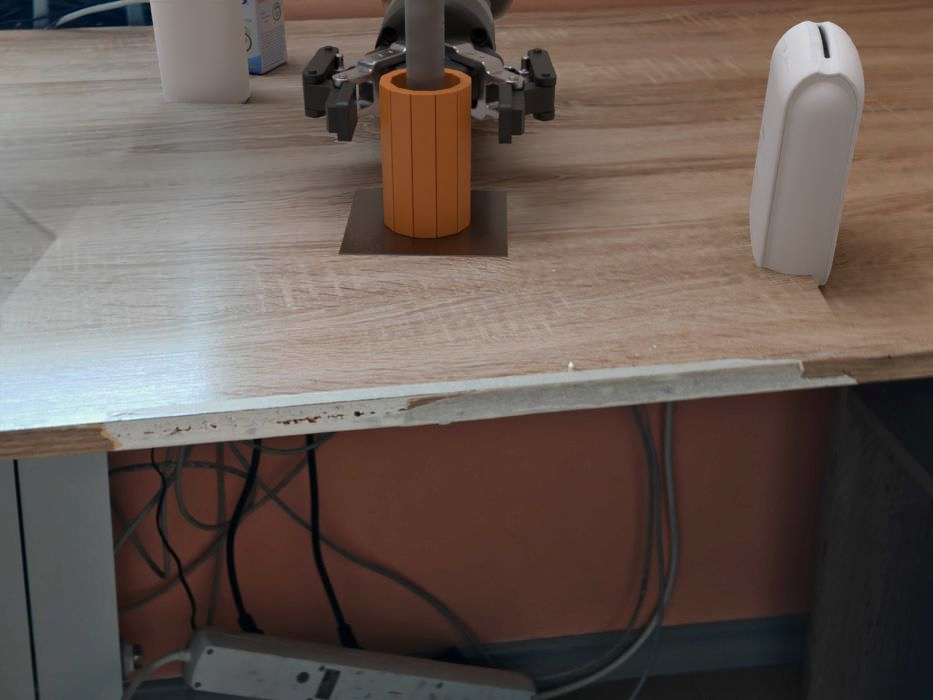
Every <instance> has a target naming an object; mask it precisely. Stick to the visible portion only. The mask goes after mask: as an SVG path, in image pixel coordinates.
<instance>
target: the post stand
mask: <svg viewBox="0 0 933 700" xmlns="http://www.w3.org/2000/svg"><path fill="white" fill-rule="evenodd" d="M405 37H406V79H407V90H412V91H437V90H443V89H445V58H444V0H405ZM507 196H508V194H507V190H500V189H499V190H496V189H495V190H493V189H489V190H487V189H485V190H483V189H471V199H470V224H469V226H468V227H466V228H465V229H463V230H462V231H460V232H459V233H456V234H452V235H448V236H443V237H439V238H438V237H436V238H415V237H409V236H406V235H402V234H398V233H395V232H393V231H392V230H391V229H390V228H389V227H387V226H386V225H385V223H384V205H383V188H356V190H355V193H354V198H353V200H352V205H351V208H350V211H349V214H348V219H347V222H346V225H345V229H344V233H343V236H342V239H341V242H340V247H339V251H338V256H397V257H402V256H403V257H406V256H407V257H462V258H463V257H467V258H468V257H469V258H509V234H508V197H507Z"/></svg>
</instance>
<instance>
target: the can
mask: <svg viewBox="0 0 933 700" xmlns="http://www.w3.org/2000/svg"><path fill="white" fill-rule="evenodd" d="M149 4H150V5H149V6H150V12H151V19H152V27H153V34H154V40H155V47H156V54H157V61H158V62H157V63H158V68H159V74H160V81H161V89H162V94H163V99H164V102H165V103H166V104H204V105H205V104H206V105H207V104H211V105H212V104H214V105H223V104H224V105H245V103H247V101H248V99H249V98H250V96H251V85H250V84H251V83H250V72H249V71H248V61H247V50H246V40H245V30H244V20H243V10H242V0H149Z"/></svg>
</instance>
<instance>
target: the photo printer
mask: <svg viewBox="0 0 933 700" xmlns="http://www.w3.org/2000/svg"><path fill="white" fill-rule="evenodd" d="M769 65H770V66H769V72H768V80H767V84H766V85H767V86H766V92H765V98H764V105H763V109H762V110H763V111H762V118H761V123H760V131H759V137H758V145H757V151H756V156H755V157H756V158H755V164H754V171H753V177H752V178H753V179H752V186H751V192H750V199H749V209H748V210H749V211H748V216H749V217H748V219H749V221H748V223H749V237H750V244H751V251H752V257H753V259H754V262H755V264H756V265H757V267H758V268H760V269H768V270H771V271H773V272H778V273H780V274H783V275H784V274H785V275H789V276H811V277H812V280H813V281H814V283H815V284H816V286H817V287H819V286H825V285H826V284H827V282H828V280H829V277H830V274H831V270H832V266H833V262H834V256H835V251H836V247H837V241H838V237H839V232H840V231H839V230H840V225H841V220H842V215H843V209H844V205H845V200H846V194H847V188H848V184H849V179H850V175H851V168H852V163H853V158H854V152H855V147H856V143H857V139H858V133H859V129H860V123H861V119H862V114H863V111H864V104H865V97H866V94H865V93H866V90H865V88H866V87H865V86H866V85H865V77H864V71H863V65H862V62H861V58H860V54H859V51H858V49H857V46H856V45H855V44H854V42H853V40H852V39H851V37H850V36H849V35H848V33H847V32H846V31H845V30H844V29H843V28H841V26H839V25H837V24H835V23H834V22H831V21H823V22H813V21H811V20H804V21H802V22H800V23H798V24H796V25H794V26H792V27H791V28H789V29H788V30H787V31H786V32H785V33H784V34H783V35H782V36H781V37H780V39H779V40H778V42H777V43H776V45H775V47H774V49H773V52H772V55H771V59H770V64H769Z"/></svg>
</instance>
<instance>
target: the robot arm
mask: <svg viewBox="0 0 933 700" xmlns="http://www.w3.org/2000/svg"><path fill="white" fill-rule="evenodd" d="M381 3H382V7H383V10H384V12H385V14H384V18H383V21H382V23H381V26H380V28H379V32H378V35H377V39H376V40H375V41H376V42H375V45H374V49H373V50H370V51H368V52H367V53H365V54H364V56H361V57H360V58H359V59H357V60H356V59H353V60H352V59H344V54H343V53H340V49H339V47H337V46H333V45H325V46H322V47H320V48H318V49H317V51H316V52H315V53H314V55H313V56H312V57H311V59H310V60H309V61H308V63H307V65H306V66H305V67H304V69H303V71H301V80H302V81H301V82H302V95H303V96H302V97H303V107H304V109H303V110H304V116H305V117H306V118H312V119H319V118H322V117H324V116H325V123H326V126H325V127H326V131H327V132H328V133H329V134H336V137H337V139H336V140H337V142H348V143H349V142H352V141H353V137H354V135H355V132H356V128H357V125H358V122H359V119H362V118H364V117H369V118H372V119H375V120H380V96H379V82H380V79H381V77H382V76H383V75H385V74H387V73H390V72H392V71H394V70H395V71H396V70H399V69H406V37H405V0H381ZM513 3H514V0H444V58H445V68H446V69H452V70H457V71H461V72H463V73H464V74H466V75H468V76H470V77H471V118H474V119H476V120H479V121H486V120H491V119H495V120H497V123H498V124H497V128H498V129H497V131H498V133H497V134H498V139H497V140H498V145H500V144H501V145H503V144H504V145H511V144H512V143H513V141H512V139H513V136H522V135H523V134H524V133H525V128H526V127H525V126H526V116H527V115H532V117H533V119H535V120H537V121H539V122H540V121H541V122H548V121H553V120H554V119H555V117H556V108H555V103H556V102H555V101H556V100H555V99H556V98H555V97H556V85H557V77H558V75H557V73H556V70H555V67H554V64H553V62H552V59H551V57H550V54H549V52H548V50H546V49H542V48H538V47H535V48H532V49H529V50H527V55H522V56H521V58H520V61H515V62H514V61H504V59H503V57H502V55H500V54H499V53H497V52H496V51H497V44H496V27H495V22H496V21H497V20H499V19H502V18H503V17H504V16H506V15H507V14H508V12H509V11H510V10H511V8H512V5H513ZM357 85H358V95H357Z"/></svg>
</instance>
